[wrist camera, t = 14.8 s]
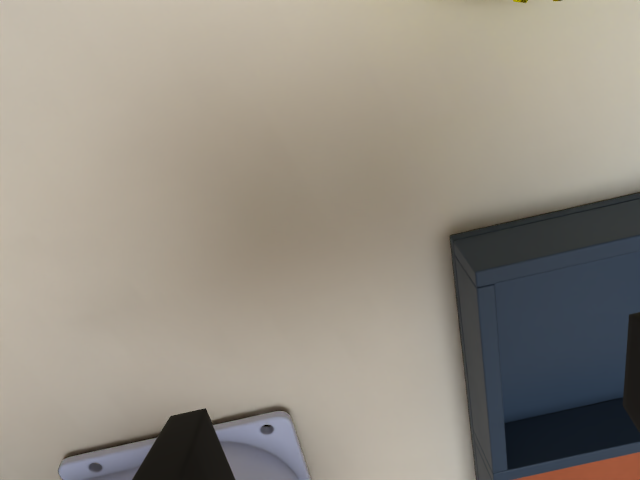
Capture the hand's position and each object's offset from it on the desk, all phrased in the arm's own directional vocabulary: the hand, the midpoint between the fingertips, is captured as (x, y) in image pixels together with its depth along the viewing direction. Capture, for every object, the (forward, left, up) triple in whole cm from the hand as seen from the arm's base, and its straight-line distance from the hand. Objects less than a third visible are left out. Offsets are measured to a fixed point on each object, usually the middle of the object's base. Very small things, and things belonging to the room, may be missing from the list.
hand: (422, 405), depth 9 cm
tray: (+8, -11, -9) cm, 17 cm away
